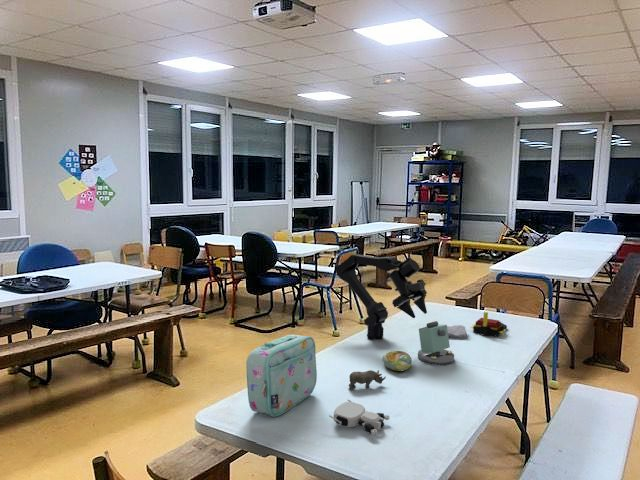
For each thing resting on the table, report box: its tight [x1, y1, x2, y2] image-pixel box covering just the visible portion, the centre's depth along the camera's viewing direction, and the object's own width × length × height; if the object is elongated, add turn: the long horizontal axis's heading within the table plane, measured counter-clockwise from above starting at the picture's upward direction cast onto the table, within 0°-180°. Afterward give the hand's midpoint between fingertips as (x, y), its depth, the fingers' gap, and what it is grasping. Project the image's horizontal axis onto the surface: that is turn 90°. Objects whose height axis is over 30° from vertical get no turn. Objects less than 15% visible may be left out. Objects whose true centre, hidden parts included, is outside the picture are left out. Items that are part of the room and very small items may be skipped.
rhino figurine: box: [348, 369, 387, 392], centre depth 173 cm, size 4×14×6 cm, turn 105°
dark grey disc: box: [417, 349, 455, 366], centre depth 200 cm, size 14×14×3 cm
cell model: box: [382, 350, 413, 372], centre depth 192 cm, size 11×8×15 cm
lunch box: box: [245, 333, 318, 418], centre depth 158 cm, size 27×10×21 cm, turn 148°
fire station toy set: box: [470, 311, 508, 337], centre depth 237 cm, size 14×20×11 cm
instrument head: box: [418, 320, 451, 353], centre depth 200 cm, size 8×10×11 cm
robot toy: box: [328, 398, 390, 435], centre depth 146 cm, size 12×4×15 cm
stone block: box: [447, 324, 468, 340], centre depth 231 cm, size 12×5×10 cm
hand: (420, 315), depth 210 cm, fingers open, 9 cm apart
